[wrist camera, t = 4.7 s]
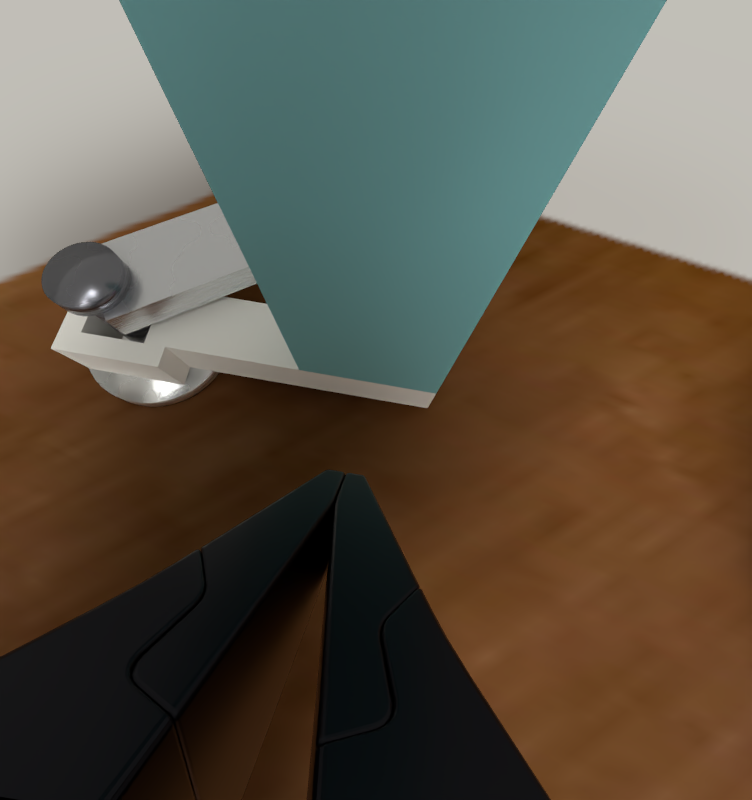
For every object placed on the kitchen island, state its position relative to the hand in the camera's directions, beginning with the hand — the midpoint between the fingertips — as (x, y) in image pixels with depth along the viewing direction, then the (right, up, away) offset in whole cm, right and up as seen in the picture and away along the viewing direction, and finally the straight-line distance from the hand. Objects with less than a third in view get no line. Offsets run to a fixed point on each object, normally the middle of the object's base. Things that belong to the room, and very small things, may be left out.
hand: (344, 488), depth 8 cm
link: (-4, +4, +8) cm, 10 cm away
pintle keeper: (-7, +5, +9) cm, 13 cm away
